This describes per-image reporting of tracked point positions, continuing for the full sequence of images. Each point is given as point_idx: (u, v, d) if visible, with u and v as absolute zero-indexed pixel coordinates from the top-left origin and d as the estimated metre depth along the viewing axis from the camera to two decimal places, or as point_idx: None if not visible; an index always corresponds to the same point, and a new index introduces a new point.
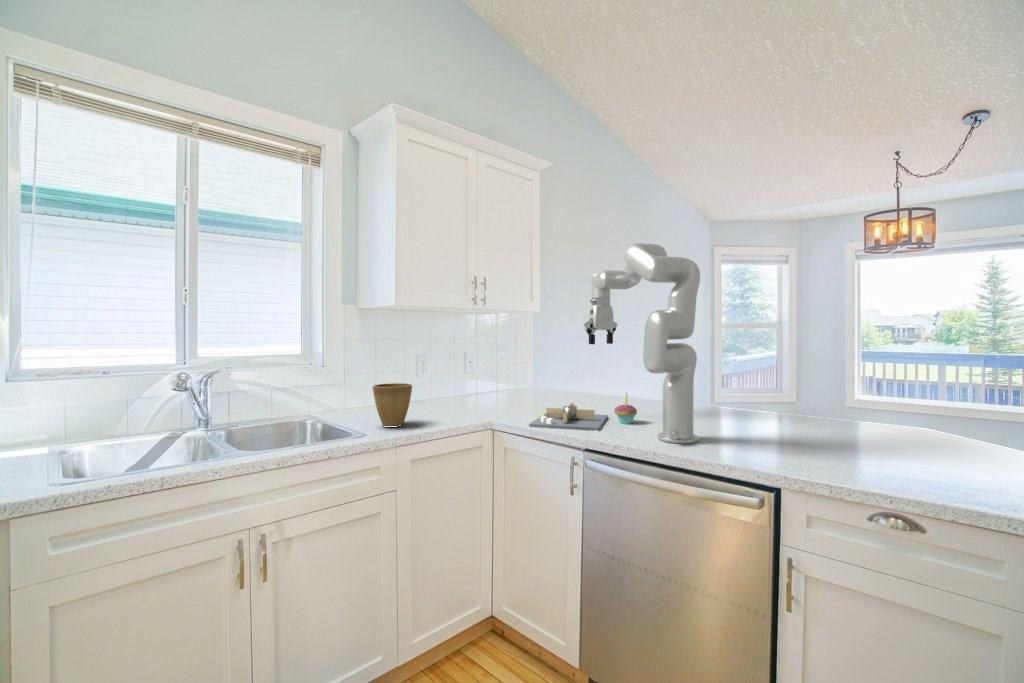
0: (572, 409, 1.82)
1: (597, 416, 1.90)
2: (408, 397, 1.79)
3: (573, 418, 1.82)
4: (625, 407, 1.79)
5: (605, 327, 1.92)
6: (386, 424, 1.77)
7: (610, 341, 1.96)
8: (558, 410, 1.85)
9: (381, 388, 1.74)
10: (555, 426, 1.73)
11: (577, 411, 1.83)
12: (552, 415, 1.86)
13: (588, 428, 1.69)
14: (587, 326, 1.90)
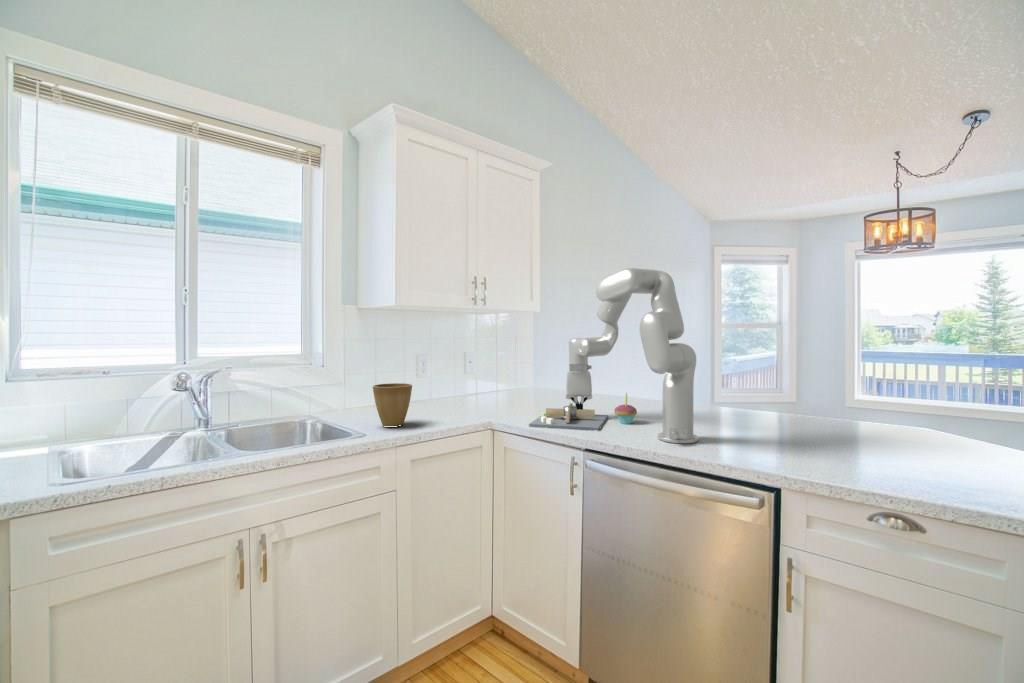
0: (573, 409, 1.82)
1: (597, 416, 1.90)
2: (408, 397, 1.79)
3: (574, 418, 1.82)
4: (625, 407, 1.79)
5: None
6: (386, 424, 1.77)
7: None
8: (558, 410, 1.85)
9: (381, 388, 1.74)
10: (555, 426, 1.73)
11: (577, 411, 1.83)
12: (552, 415, 1.85)
13: (588, 428, 1.69)
14: None
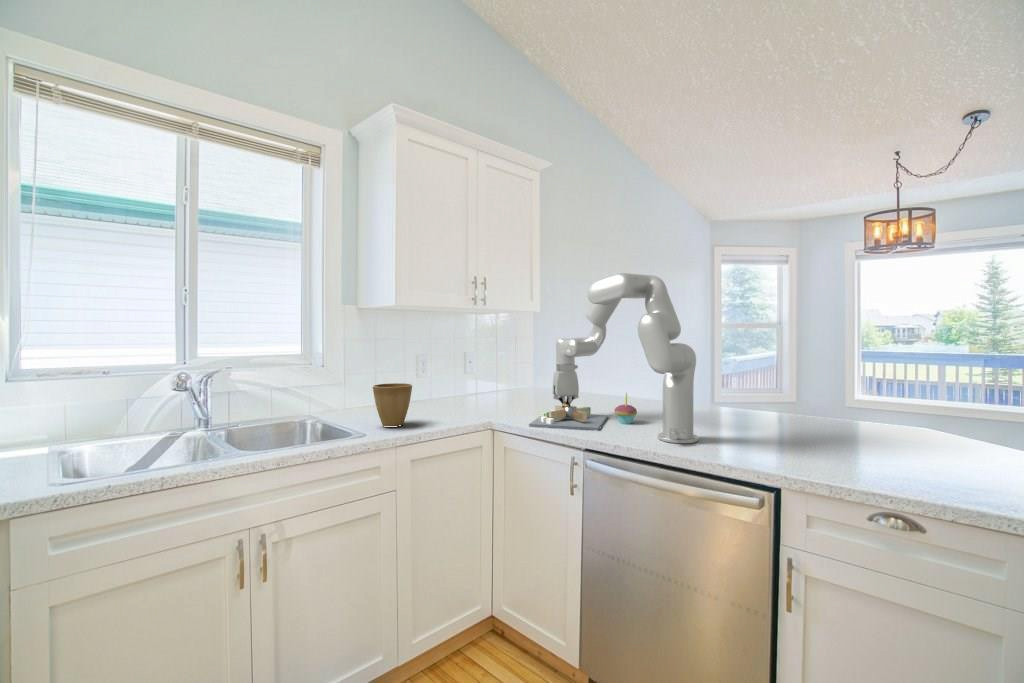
0: (576, 408, 1.83)
1: (597, 416, 1.90)
2: (408, 397, 1.79)
3: None
4: (625, 407, 1.79)
5: None
6: (386, 424, 1.77)
7: None
8: (561, 412, 1.82)
9: (381, 388, 1.74)
10: (555, 426, 1.73)
11: (577, 410, 1.85)
12: (556, 418, 1.81)
13: (588, 428, 1.69)
14: None
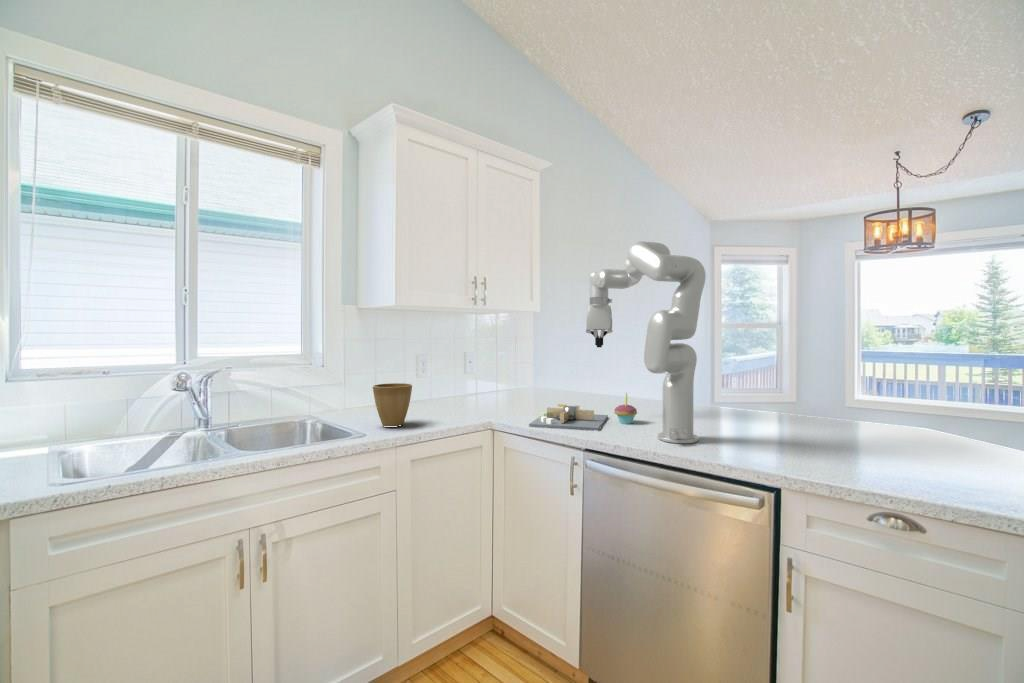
0: None
1: (597, 416, 1.90)
2: (408, 397, 1.79)
3: None
4: (625, 407, 1.79)
5: None
6: (386, 424, 1.77)
7: None
8: (568, 412, 1.80)
9: (381, 388, 1.74)
10: (555, 426, 1.73)
11: None
12: (566, 419, 1.78)
13: (588, 428, 1.69)
14: None
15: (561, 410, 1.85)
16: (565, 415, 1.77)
